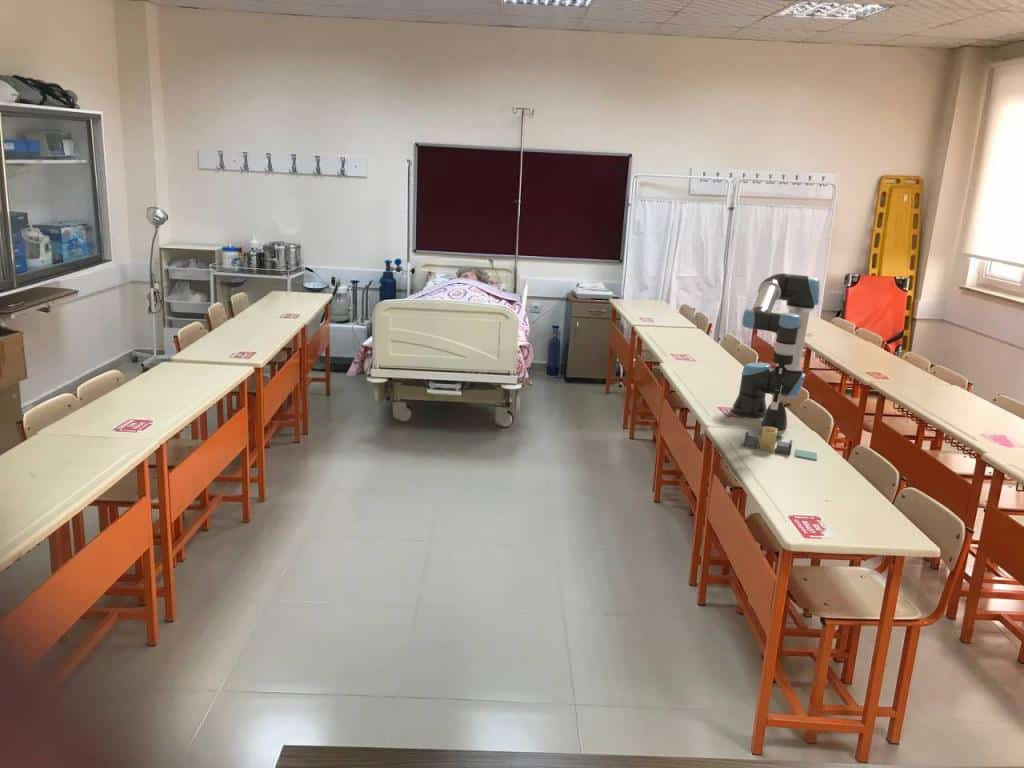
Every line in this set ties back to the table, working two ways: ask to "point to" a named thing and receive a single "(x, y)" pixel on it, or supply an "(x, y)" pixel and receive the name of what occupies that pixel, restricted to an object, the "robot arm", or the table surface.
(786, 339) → the robot arm
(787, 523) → the table surface
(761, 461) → the table surface
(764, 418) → the pump dispenser
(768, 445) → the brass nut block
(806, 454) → the rubber pad
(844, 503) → the table surface
